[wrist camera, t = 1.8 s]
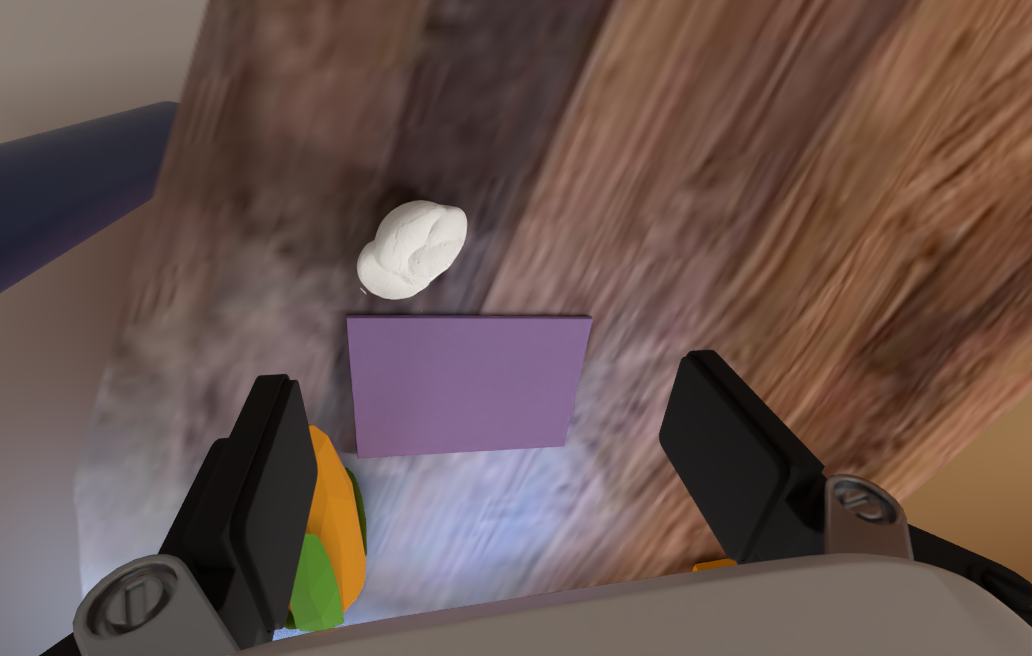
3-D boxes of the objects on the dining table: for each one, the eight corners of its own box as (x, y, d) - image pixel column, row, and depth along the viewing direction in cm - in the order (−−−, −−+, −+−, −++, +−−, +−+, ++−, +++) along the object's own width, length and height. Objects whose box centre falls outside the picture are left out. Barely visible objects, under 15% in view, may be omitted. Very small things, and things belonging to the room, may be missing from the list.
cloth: (358, 454, 35) (357, 458, 35) (346, 314, 29) (346, 317, 29) (563, 442, 38) (564, 446, 38) (591, 315, 32) (593, 318, 32)
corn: (263, 675, 34) (202, 487, 24) (280, 575, 40) (237, 392, 30) (370, 652, 36) (355, 470, 26) (370, 561, 42) (359, 385, 32)
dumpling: (411, 161, 25) (433, 180, 22) (472, 222, 29) (499, 246, 26) (325, 256, 26) (336, 287, 23) (396, 305, 29) (413, 338, 26)
